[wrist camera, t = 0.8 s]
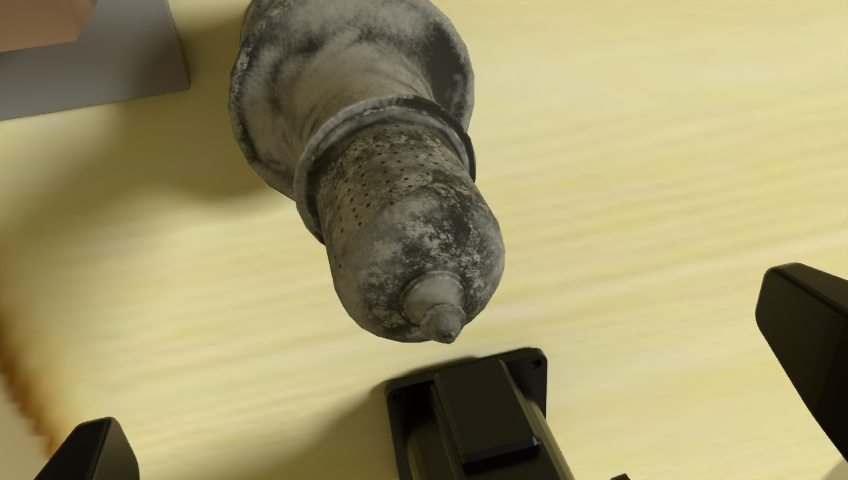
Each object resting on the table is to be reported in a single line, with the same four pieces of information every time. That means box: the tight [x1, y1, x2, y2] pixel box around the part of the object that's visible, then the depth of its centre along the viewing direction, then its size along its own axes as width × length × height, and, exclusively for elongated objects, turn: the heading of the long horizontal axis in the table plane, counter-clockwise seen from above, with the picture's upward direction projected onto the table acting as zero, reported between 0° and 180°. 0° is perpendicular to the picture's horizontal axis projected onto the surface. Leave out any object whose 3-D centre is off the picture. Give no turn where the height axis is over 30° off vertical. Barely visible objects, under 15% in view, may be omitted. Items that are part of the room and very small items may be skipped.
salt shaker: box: [228, 0, 505, 344], centre depth 14 cm, size 6×6×12 cm
